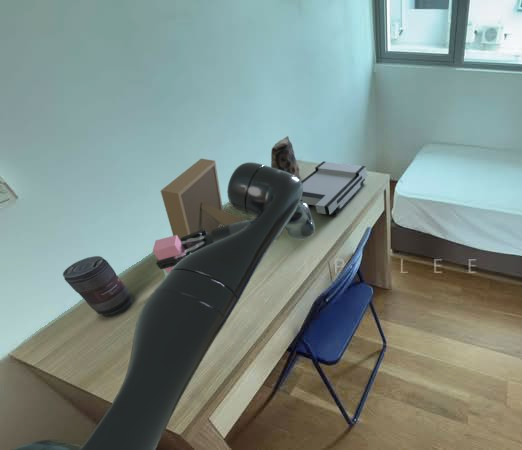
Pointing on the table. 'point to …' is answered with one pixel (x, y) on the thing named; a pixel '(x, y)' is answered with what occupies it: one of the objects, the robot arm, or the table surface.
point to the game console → (332, 186)
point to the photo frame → (196, 201)
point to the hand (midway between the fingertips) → (160, 258)
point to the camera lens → (99, 286)
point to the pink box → (168, 249)
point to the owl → (284, 157)
